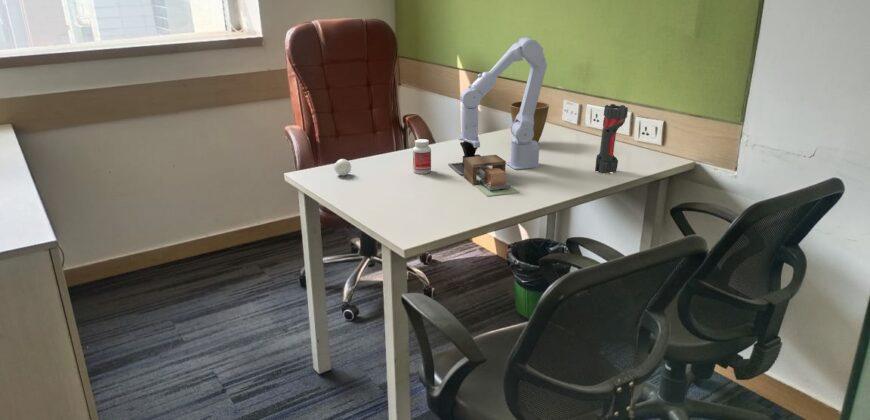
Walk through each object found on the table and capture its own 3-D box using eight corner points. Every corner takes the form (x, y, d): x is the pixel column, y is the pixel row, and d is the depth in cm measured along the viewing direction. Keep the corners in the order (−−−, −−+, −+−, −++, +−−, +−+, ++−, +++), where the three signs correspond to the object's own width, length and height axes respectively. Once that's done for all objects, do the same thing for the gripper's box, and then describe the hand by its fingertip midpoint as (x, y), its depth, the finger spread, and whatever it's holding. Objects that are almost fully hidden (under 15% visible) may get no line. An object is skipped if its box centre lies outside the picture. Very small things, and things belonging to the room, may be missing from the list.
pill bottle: (434, 172, 223) (434, 141, 219) (419, 175, 219) (419, 144, 215) (424, 167, 227) (424, 137, 223) (409, 170, 224) (409, 139, 220)
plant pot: (553, 143, 256) (556, 104, 251) (532, 151, 246) (535, 110, 240) (522, 137, 266) (524, 98, 260) (501, 144, 255) (502, 104, 249)
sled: (479, 165, 227) (480, 152, 225) (510, 187, 204) (511, 174, 203) (461, 167, 225) (461, 154, 223) (490, 190, 202) (490, 176, 201)
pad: (506, 182, 212) (506, 181, 212) (519, 192, 203) (519, 191, 203) (475, 186, 209) (475, 185, 209) (487, 196, 200) (487, 195, 200)
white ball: (355, 174, 220) (354, 159, 218) (342, 178, 216) (341, 162, 214) (340, 170, 225) (339, 154, 223) (327, 174, 221) (326, 158, 219)
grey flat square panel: (479, 162, 234) (479, 160, 234) (493, 172, 222) (493, 170, 222) (448, 165, 230) (448, 163, 230) (461, 176, 219) (461, 174, 218)
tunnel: (495, 174, 220) (495, 154, 218) (505, 181, 213) (505, 161, 211) (464, 177, 217) (464, 157, 214) (472, 185, 210) (473, 164, 207)
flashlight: (625, 172, 222) (632, 106, 214) (611, 176, 218) (618, 109, 209) (607, 166, 228) (613, 102, 220) (592, 171, 223) (598, 105, 215)
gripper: (451, 120, 227) (451, 157, 232) (466, 130, 214) (465, 169, 219) (470, 119, 229) (469, 156, 234) (486, 128, 216) (485, 167, 221)
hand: (469, 162), depth 227 cm, fingers closed
